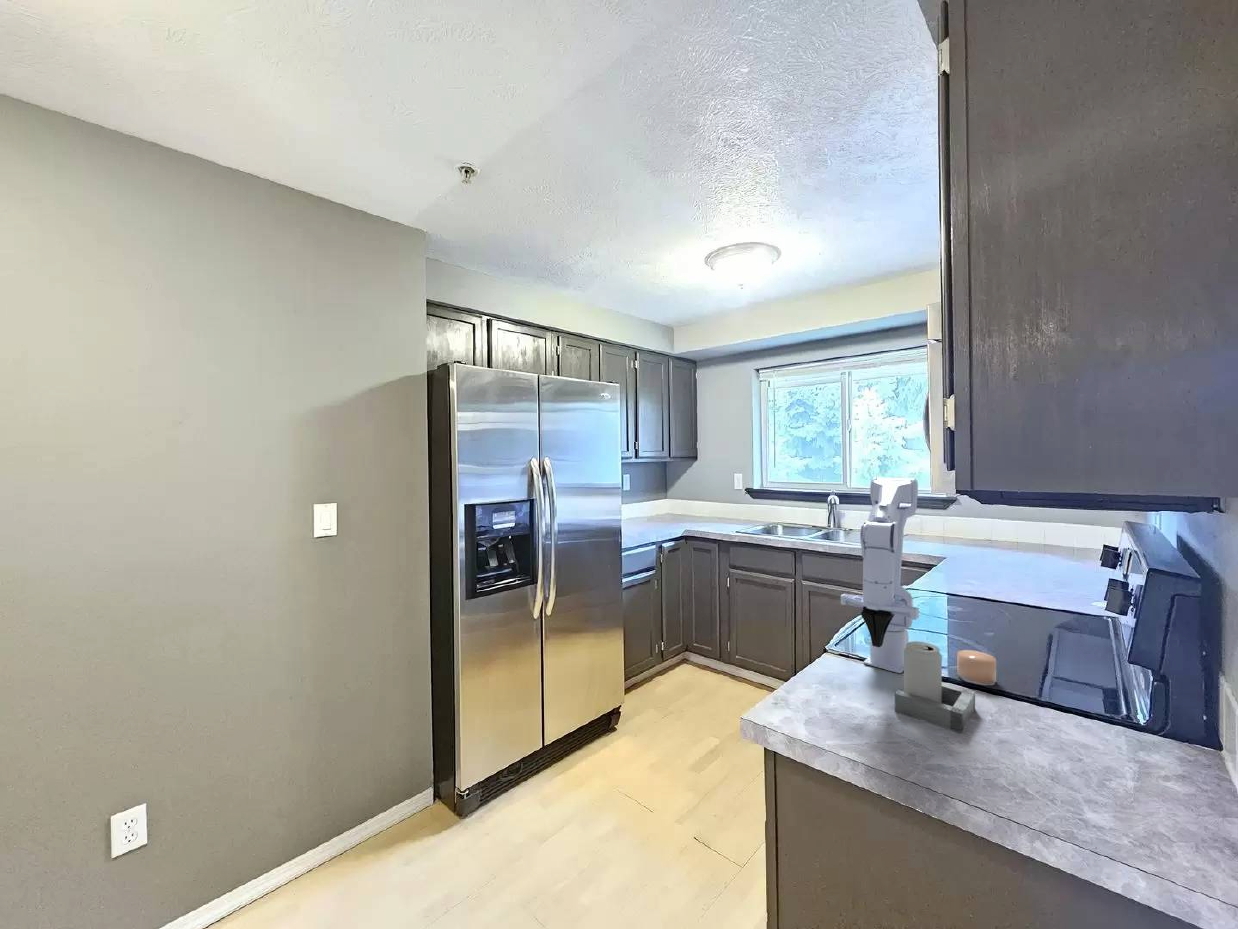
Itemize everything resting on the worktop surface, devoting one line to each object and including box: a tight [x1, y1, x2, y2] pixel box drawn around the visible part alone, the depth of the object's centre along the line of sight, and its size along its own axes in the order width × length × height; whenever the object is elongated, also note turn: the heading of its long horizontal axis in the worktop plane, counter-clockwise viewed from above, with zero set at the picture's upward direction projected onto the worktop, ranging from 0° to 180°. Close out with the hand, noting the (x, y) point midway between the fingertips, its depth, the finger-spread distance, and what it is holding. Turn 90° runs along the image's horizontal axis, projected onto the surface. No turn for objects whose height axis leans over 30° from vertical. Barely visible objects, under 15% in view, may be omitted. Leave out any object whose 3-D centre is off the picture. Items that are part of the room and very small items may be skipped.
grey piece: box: [894, 682, 976, 734], centre depth 101 cm, size 11×11×4 cm
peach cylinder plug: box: [956, 649, 997, 684], centre depth 114 cm, size 7×7×5 cm
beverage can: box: [903, 641, 943, 703], centre depth 102 cm, size 6×6×12 cm
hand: (877, 645), depth 108 cm, fingers closed
